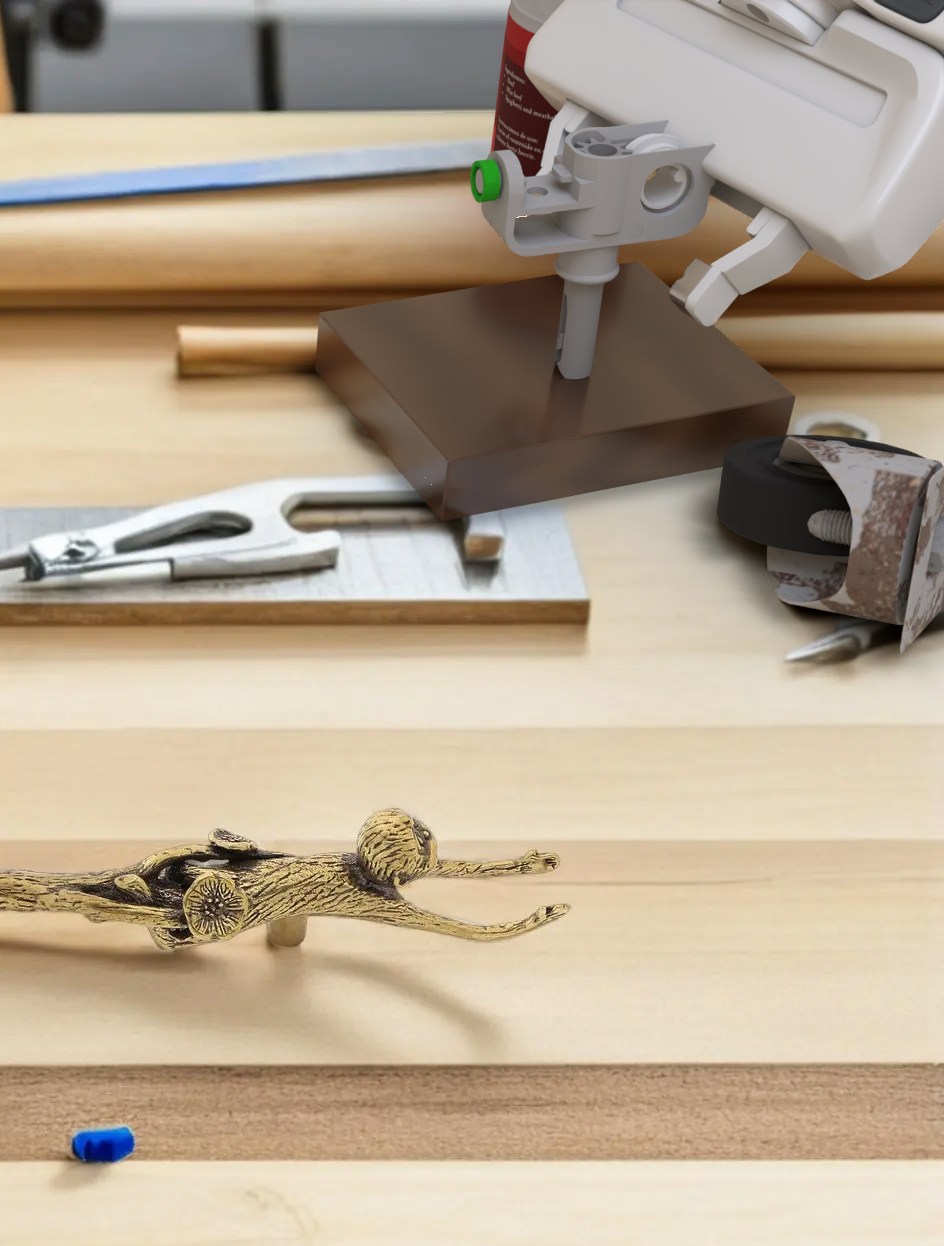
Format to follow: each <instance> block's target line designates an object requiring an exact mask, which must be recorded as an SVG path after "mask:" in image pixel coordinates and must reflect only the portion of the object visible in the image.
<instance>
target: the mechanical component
mask: <svg viewBox="0 0 944 1246" xmlns="http://www.w3.org/2000/svg"><path fill="white" fill-rule="evenodd" d="M668 122H669V121H668V120H664V121H656V122H647V123H639V124H630V125H622V126H613V127H591V128H584V129H579V130H576V131H574V132H572V133H570V134H569V135H568V136H567V137H566V139H565V143H564V150H563V155H556V156H554V164H553V166H552V170H551V173H552V174H548V175H540V176H532V177H525V176H524V175H523V172H522V168H521V165H520V162H519V160H518V158H517V156H516V155H515V154H514V153H513V152H512V151H511V150H501V151H493V152H491V151H490V152H491V153H488V156H487V157H486V159H480V160H475V161H474V162H472V165H471V168H470V181H469V182H470V183H469V184H470V188H471V189H470V190H471V194H472V197H473V199H474V201H475V202H477V203H479V204H480V209H481V213H482V215H483V217H484V218H485V219H486V221H487V223H488V224H489V225H490V226H491V227H492V228H493V230H494V231H495V232H496V233H497V234H498V236H499V237H500V238H501V239H502V241H503V242H504V243H505V244H506V245H507V247H508V248H509V249H510V250H511V252H513V253H514V254H516V255H518V256H521V257H537V256H546V255H552V254H558V257H556V259H555V260H554V262H553V269H554V271H555V273H556V274H558V275H559V276H560V277H562V278H563V279H564V280H565V285H564V292H563V300H562V307H561V315H560V323H559V330H558V338H557V346H556V354H555V362H554V364H555V365H558V368H559V370H560V372H561V374H562V375H563V376H564V378H567V379H582V378H585V377H587V376H589V375H590V373H591V369H592V363H593V356H594V349H595V342H596V335H597V328H598V321H599V314H600V307H601V301H602V294H603V287H604V284H605V283H606V282H608V281H611V280H612V279H614V278H615V277H616V276H617V274H618V272H619V264H620V263H619V262H618V255H619V250H620V246H624V245H631V244H632V245H633V244H639V243H646V242H654V241H661V240H671V239H677V238H680V237H684V236H685V235H687V234H689V233H690V232H692V231H693V230H695V229H696V228H697V227H698V225H699V224H700V223H701V222H702V220H703V219H704V217H705V215H706V212H707V209H708V206H709V205H708V204H709V199H710V195H709V194H710V189H711V187H712V186H713V185H714V184H715V178H714V177H712V176H710V175H708V174H706V173H705V171H704V170H703V169H702V162H703V160H704V158H705V157H706V156H707V155H708V154H709V152H710V151H711V150H712V149H713V148H714V147H715V146H716V145H715V144H713V143H712V145H705V146H697V147H688V148H680V149H679V146H680V144H681V143H682V140H680V139H679V138H677V137H676V136H673V135H670V134H663V132H664V130H665V127H666V125H667V123H668ZM656 170H657V171H656ZM654 172H655V173H654ZM653 173H654V175H653V176H651V175H652V174H653ZM650 176H651V177H650ZM649 177H650V178H649ZM530 194H541V195H544V196H533V195H530ZM550 212H556V213H551V214H543V215H535V216H527V217H519V218H516V217H518V216H526V215H534V214H542V213H550Z"/></svg>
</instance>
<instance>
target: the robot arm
mask: <svg viewBox="0 0 944 1246" xmlns="http://www.w3.org/2000/svg"><path fill="white" fill-rule="evenodd" d="M524 70H525V73H526V75H527V76H528V78H529V79H530V80H531V82H532V83H533V84H534V85H535V87H536V88H537V89H538V91H539V92H540V93H541V94H542V95H543V96H544V98H545V99H546V100H547V101H548V102H549V103H550V104H551V105H552V106H553V107H554V108H555V109H556V110H557V111H559V113H558V114H557V115H556V116H555V118H554V119H553V120H552V121H551V123H550V127H549V132H548V136H547V140H546V145H545V149H544V153H543V158H542V162H541V167H542V168H541V170H540V171H539V172H538V173H537V175H536V176H540V175H548V174H552V173H551V170H552V166H553V164H554V156H556V155H563V150H564V143H565V139H566V137H567V136H568V135H569V134H570V133H572V132H574V131H576V130H579V129H584V128H591V127H613V126H622V125H630V124H639V123H647V122H656V121H664V120H668V121H669V122H668V123H667V125H666V127H665V130H664V132H663V134H670V135H673V136H676V137H677V138H679V139H680V140H682V143H681V144H680V146H679V149H680V148H688V147H697V146H705V145H712V143H713V144H715V145H716V146H715V147H714V148H713V149H712V150H711V151H710V152H709V154H708V155H707V156H706V157H705V158H704V160H703V162H702V169H703V170H704V171H705V173H706V174H708V175H710V176H712V177H714V178H715V184H714V185H713V186H712V187H711V189H710V194H709V196H711V197H712V198H713V199H716V200H719V201H720V202H722V203H724V204H726V205H727V206H729V207H730V208H733V209H734V210H736V211H738V212H740V213H742V214H743V215H745V216H747V217H749V218H751V219H753V220H751V222H750V223H749V224H748V226H747V227H746V233H747V234H748V235H749V237H750V238H751V239H749V240H748V241H747V242H745V243H743V244H741V245H740V246H738V247H737V248H735V249H733V250H732V251H730V252H728V253H727V254H725V255H723V256H722V257H720V258H718V259H717V260H715V261H713V262H711V263H710V264H708V263H706V262H705V261H703V260H701V259H700V258H697V257H695V258H694V259H693V260H692V261H691V262H690V263H689V264H688V265H687V266H686V268H685V269H684V271H683V275H682V277H680V278H679V279H677V280H675V282H674V283H673V284H672V286H671V287H670V288H671V289H670V293H669V298H670V299H671V301H672V302H673V303H674V304H675V305H676V306H677V308H678V309H679V310H680V311H681V312H683V313H685V314H686V315H688V316H689V317H691V318H692V319H694V320H695V321H697V322H698V323H700V324H702V325H704V326H706V327H708V326H711V325H714V324H716V322H717V321H718V320H719V319H720V317H722V315H723V314H724V313H725V312H726V310H727V309H728V308H729V307H730V306H731V304H732V303H733V302H734V301H735V300H736V299H737V297H738V296H739V295H740V296H742V295H745V294H747V293H749V292H751V291H753V290H755V289H757V288H759V287H761V286H764V285H766V284H768V283H770V282H773V281H774V280H776V279H779V278H780V277H782V276H785V275H786V274H789V273H790V272H791V271H792V269H794V267H795V266H796V265H797V264H798V263H799V261H800V260H801V259H802V258H803V257H804V255H805V254H806V253H807V252H808V251H810V252H812V253H814V254H815V255H818V256H819V257H821V258H823V259H825V260H827V261H828V262H830V263H832V264H834V265H836V266H837V267H840V268H841V269H843V270H845V271H846V272H849V273H850V274H852V275H854V276H855V277H857V278H860V279H862V280H864V281H870V280H873V279H876V278H879V277H883V276H884V275H887V274H890V273H891V272H894V271H897V270H898V269H901V268H902V267H903V266H905V265H906V264H907V263H908V262H909V261H910V260H911V259H912V258H913V257H914V256H915V254H916V253H917V252H918V251H919V250H920V249H921V248H922V247H923V245H924V244H925V243H926V241H928V239H929V238H931V235H932V234H934V232H935V231H936V229H937V228H938V227H939V225H941V223H942V221H943V220H944V0H565V1H564V2H563V3H562V4H561V5H560V6H559V7H558V8H557V9H556V10H555V11H554V13H553V14H552V15H551V16H550V17H549V18H548V19H547V21H546V22H545V23H544V24H543V25H542V26H541V28H540V29H539V30H538V31H537V32H536V34H535V35H534V36H533V38H532V39H531V41H530V42H529V44H528V47H527V53H526V59H525V66H524ZM530 195H533V196H544V195H541V194H530ZM551 213H556V212H550V213H542V214H534V215H527V216H535V215H543V214H551Z"/></svg>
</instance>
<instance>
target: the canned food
mask: <svg viewBox="0 0 944 1246" xmlns="http://www.w3.org/2000/svg"><path fill="white" fill-rule="evenodd" d="M564 1H565V0H510V3H509V6H508V10H507V16H506V17H507V18H506V24H505V30H504V37H503V45H502V54H501V62H500V71H499V78H498V85H497V87H498V88H497V94H496V95H497V96H496V104H495V111H494V120H493V127H492V137H491V143H490V144H491V145H490V153H491V152H493V151H501V150H511V151H512V152H513V153H514V154H515V155H516V156H517V158H518V160H519V162H520V165H521V168H522V172H523V175H524V176H525V177H532V176H536V175H537V173H538V172H539V171H540V170H541V168H542V167H541V162H542V158H543V153H544V149H545V145H546V140H547V136H548V132H549V127H550V123H551V121H552V120H553V119H554V118H555V116H556V115H557V114H558V113H559V111H557V110H556V109H555V108H554V107H553V106H552V105H551V104H550V103H549V102H548V101H547V100H546V99H545V98H544V96H543V95H542V94H541V93H540V92H539V91H538V89H537V88H536V87H535V85H534V84H533V83H532V82H531V80H530V79H529V78H528V76H527V75H526V73H525V70H524V66H525V59H526V53H527V47H528V44H529V42H530V41H531V39H532V38H533V36H534V35H535V34H536V32H537V31H538V30H539V29H540V28H541V26H542V25H543V24H544V23H545V22H546V21H547V19H548V18H549V17H550V16H551V15H552V14H553V13H554V11H555V10H556V9H557V8H558V7H559V6H560V5H561V4H562V3H563V2H564ZM490 153H489V154H490Z"/></svg>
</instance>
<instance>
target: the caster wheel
mask: <svg viewBox="0 0 944 1246" xmlns="http://www.w3.org/2000/svg"><path fill="white" fill-rule="evenodd" d="M721 468H722V469H721V476H720V483H719V491H718V500H717V505H716V506H717V507H716V514H717V518H718V519H719V521H720V522H721V523H722V524H723V526H724V527H726V528H727V529H728V530H729V531H731V532H733V533H734V534H737V535H739V536H740V537H742V538H744V539H747V540H750V541H753V542H755V543H758V544H761V545H764V546H766V571H767V572H768V573H769V574H770V575H771V576H773V577H774V578H775V579H776V580H777V581H778V583H779V587H778V588H775V589H773V590H774V593H775V595H776V597H777V599H779V600H780V601H782V602H784V603H786V604H789V605H794V606H799V607H804V608H809V609H814V610H815V609H816V610H820V611H824V612H825V611H826V612H829V613H835V614H841V615H846V616H852V617H856V618H862V619H866V620H871V621H877V622H882V623H887V624H893V625H898V626H902V632H901V637H900V642H899V656H901V655H902V654H903V653H904V652H905V651H906V649H907V648H908V647H909V646H910V645H912V643H913V642H914V641H915V640H916V638H918V636H919V635H921V633H922V632H923V631H924V630H925V629H926V627H928V625H929V624H931V622H932V621H933V620H934V619H935V617H936V616H937V615H939V613H940V612H941V611H943V609H944V465H943V462H942V461H939V460H936V459H931V458H926V457H924V456H922V455H920V454H918V453H917V452H914V451H911V450H908V449H905V448H902V447H898V446H894V445H890V444H888V443H884V442H878V441H872V440H866V439H861V438H856V437H849V436H848V437H847V436H835V435H825V434H822V435H821V434H787V435H782V436H769V437H763V438H758V439H753V440H748V441H745V442H742V443H740V444H737V445H735V446H734V447H732V448H731V449H730V450H728V451H727V453H726V454H725V456H724V460H723V467H721Z"/></svg>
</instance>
